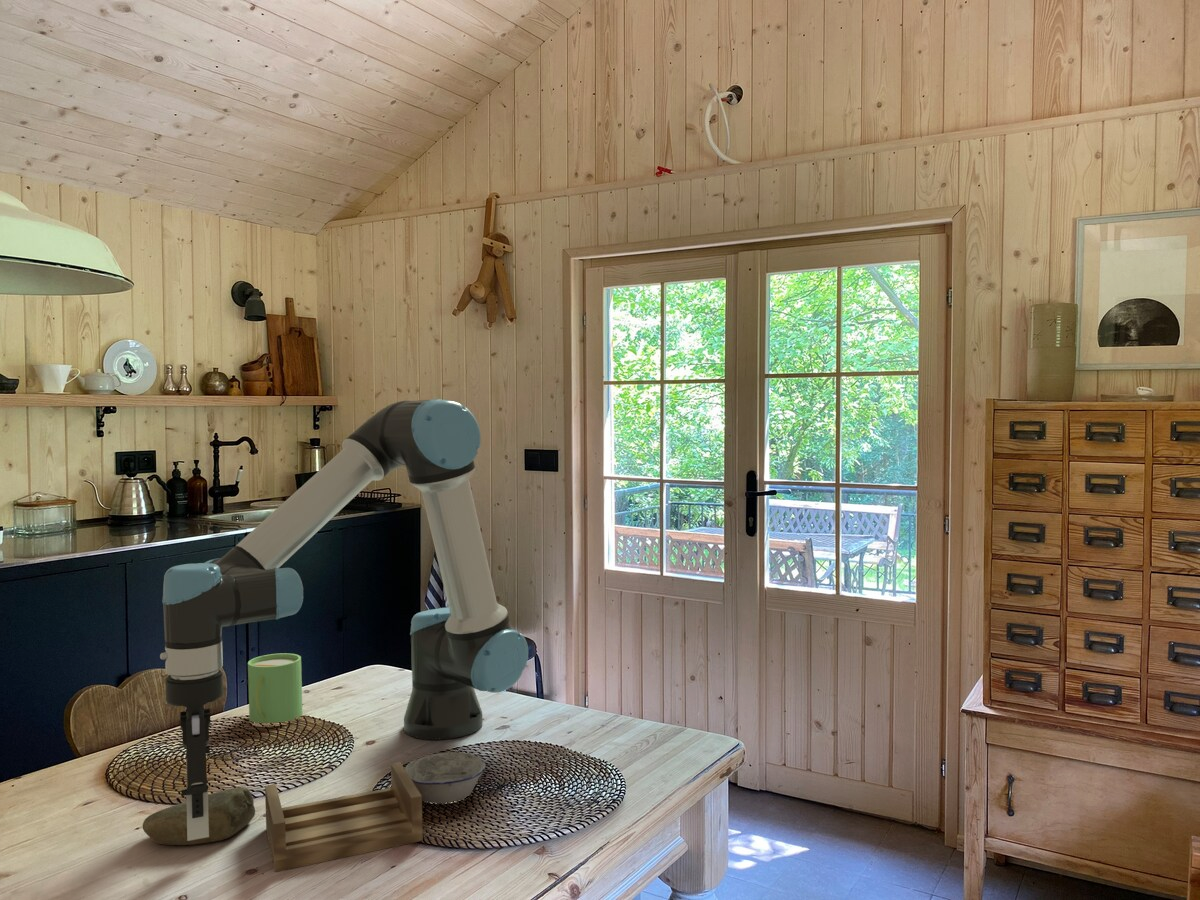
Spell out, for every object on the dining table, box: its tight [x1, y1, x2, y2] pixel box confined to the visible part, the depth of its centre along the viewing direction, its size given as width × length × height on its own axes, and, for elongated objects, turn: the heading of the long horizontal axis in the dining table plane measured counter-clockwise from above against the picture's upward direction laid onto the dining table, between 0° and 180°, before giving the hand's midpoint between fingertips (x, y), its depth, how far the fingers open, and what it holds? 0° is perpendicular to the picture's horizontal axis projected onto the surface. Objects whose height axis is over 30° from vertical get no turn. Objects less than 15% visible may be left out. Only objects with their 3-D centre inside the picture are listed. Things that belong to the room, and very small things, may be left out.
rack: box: [264, 761, 424, 873], centre depth 131 cm, size 20×14×6 cm
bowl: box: [404, 751, 487, 803], centre depth 144 cm, size 13×13×5 cm
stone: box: [142, 786, 256, 846], centre depth 131 cm, size 9×14×10 cm, turn 107°
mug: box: [245, 652, 303, 724], centre depth 180 cm, size 13×10×12 cm
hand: (197, 818), depth 130 cm, fingers open, 13 cm apart
